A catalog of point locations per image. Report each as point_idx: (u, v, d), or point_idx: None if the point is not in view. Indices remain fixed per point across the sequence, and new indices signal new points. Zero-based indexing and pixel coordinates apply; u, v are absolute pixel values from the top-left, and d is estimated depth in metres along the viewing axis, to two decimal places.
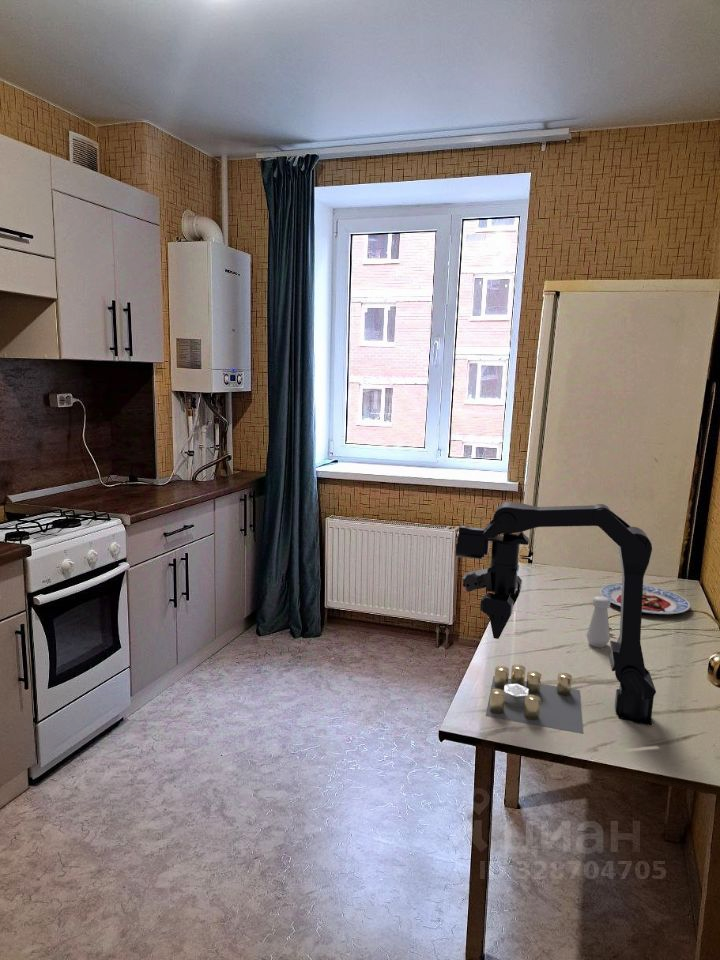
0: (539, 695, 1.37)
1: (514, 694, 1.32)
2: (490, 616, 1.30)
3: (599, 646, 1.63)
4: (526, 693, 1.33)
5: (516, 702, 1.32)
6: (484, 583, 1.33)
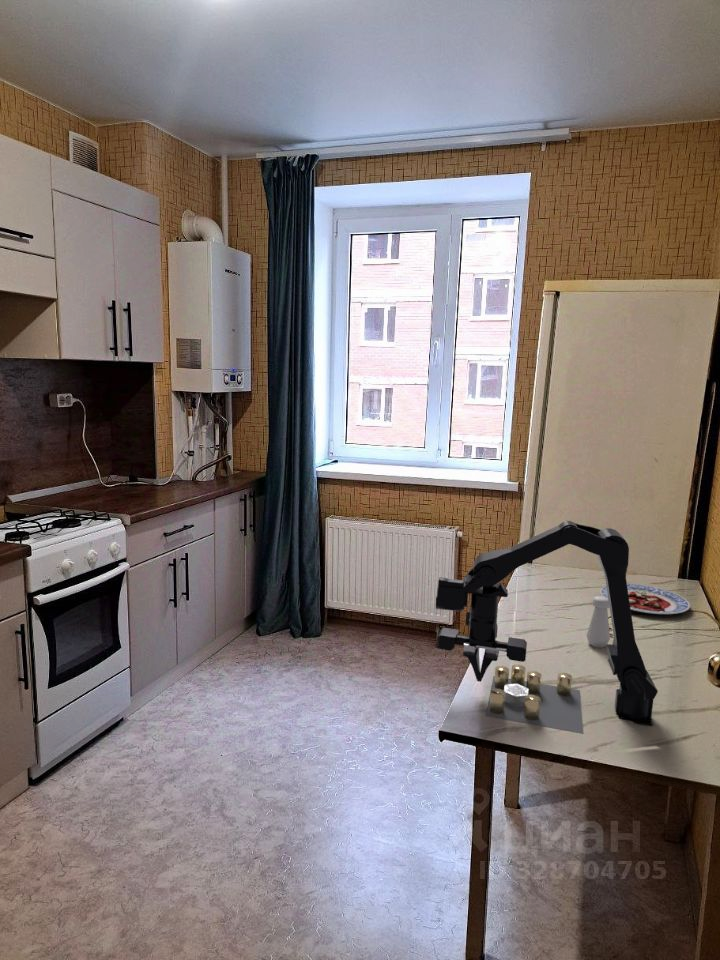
0: (539, 695, 1.37)
1: (514, 694, 1.32)
2: None
3: (599, 646, 1.63)
4: (526, 693, 1.33)
5: (516, 702, 1.32)
6: None
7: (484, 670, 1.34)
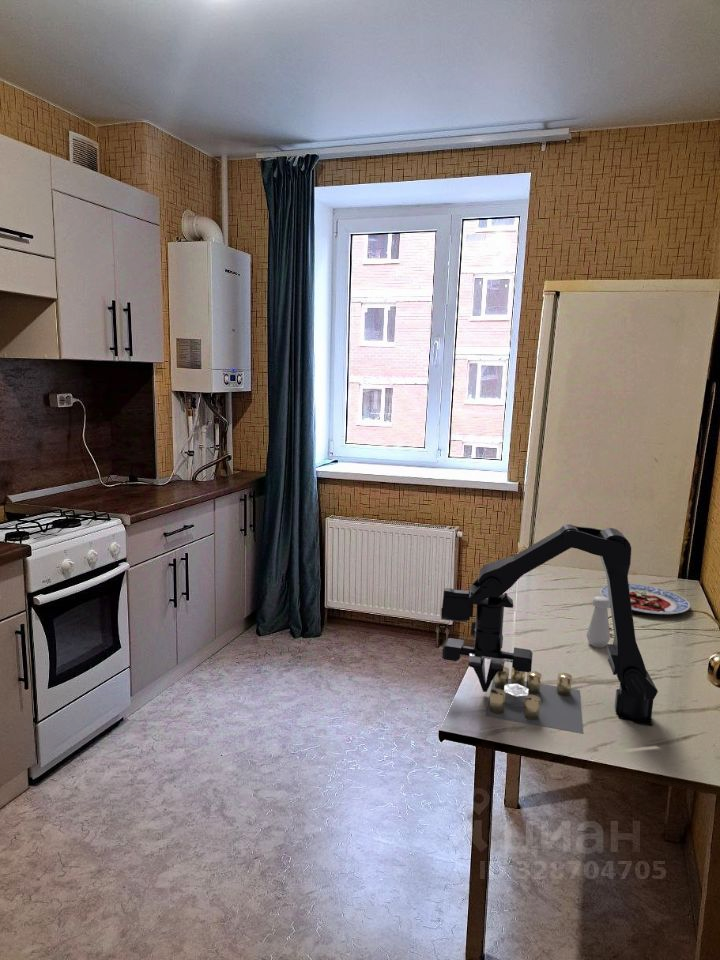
0: (539, 695, 1.37)
1: (514, 694, 1.32)
2: None
3: (599, 646, 1.63)
4: (526, 693, 1.33)
5: (516, 702, 1.32)
6: None
7: (490, 681, 1.34)
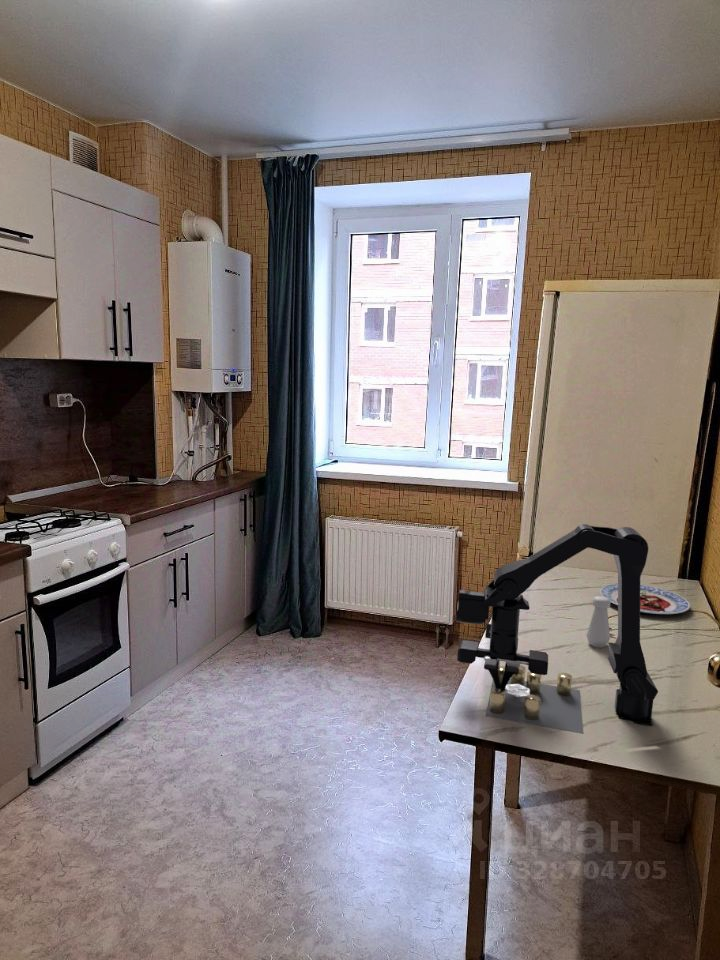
0: (539, 695, 1.37)
1: (515, 694, 1.32)
2: None
3: (599, 646, 1.63)
4: (527, 693, 1.33)
5: (517, 702, 1.32)
6: None
7: (505, 683, 1.33)
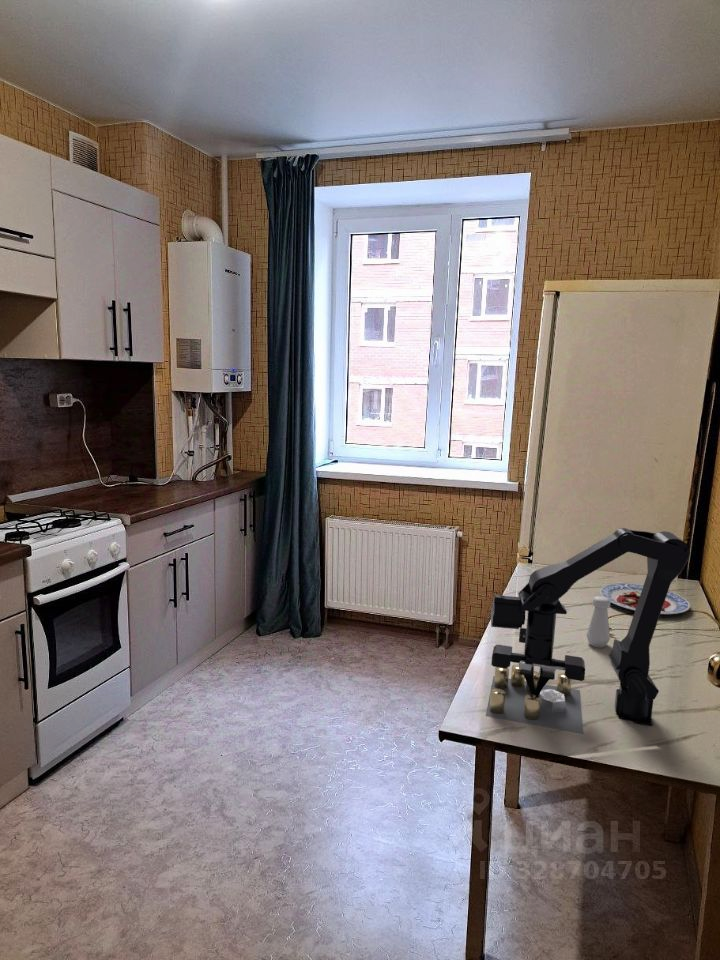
0: None
1: (551, 700, 1.30)
2: None
3: (599, 646, 1.63)
4: (563, 699, 1.31)
5: (553, 708, 1.30)
6: None
7: (540, 689, 1.31)
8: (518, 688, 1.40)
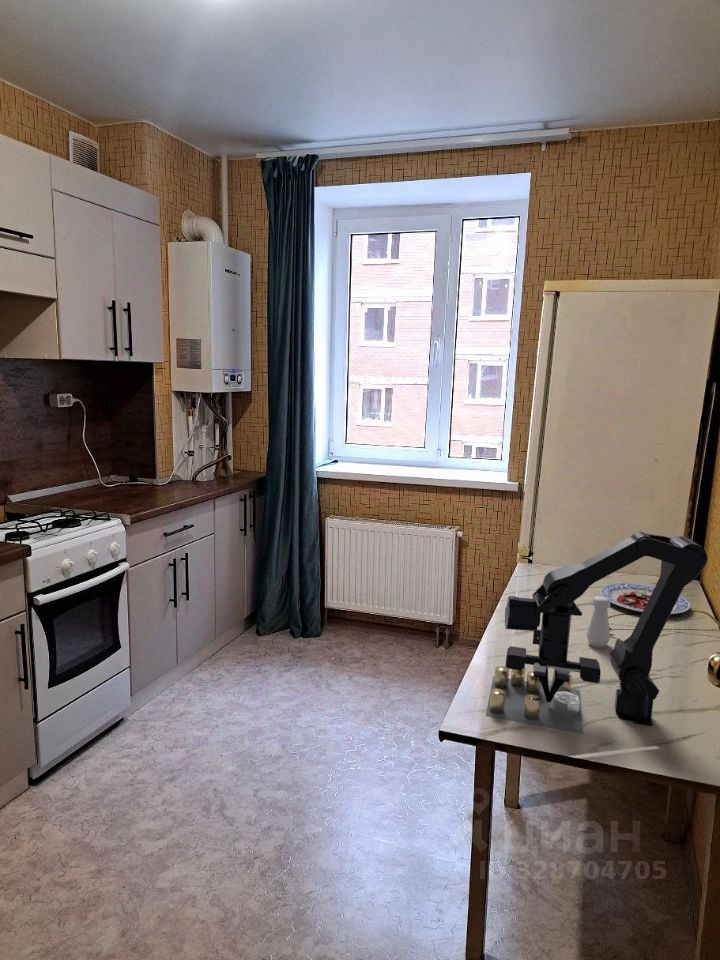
0: (539, 695, 1.37)
1: (565, 702, 1.30)
2: None
3: (599, 646, 1.63)
4: (577, 701, 1.30)
5: (568, 710, 1.29)
6: (539, 643, 1.35)
7: (555, 691, 1.30)
8: (518, 688, 1.40)
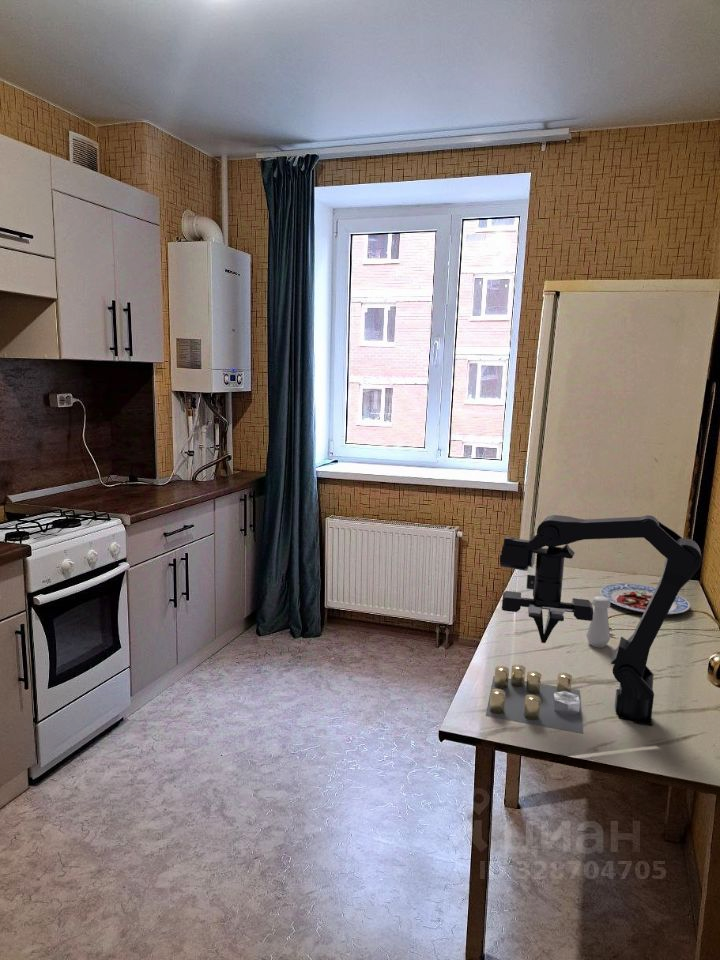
0: (539, 695, 1.37)
1: (566, 702, 1.30)
2: None
3: (599, 646, 1.63)
4: (577, 701, 1.30)
5: (568, 710, 1.29)
6: (534, 587, 1.39)
7: (550, 631, 1.35)
8: (518, 688, 1.40)
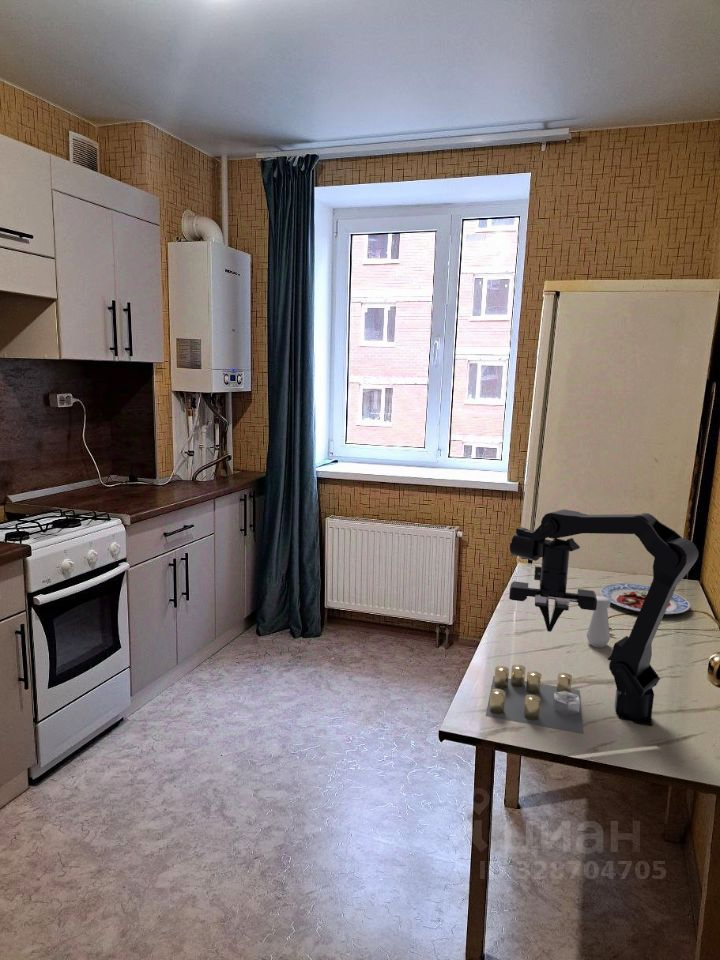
0: (539, 695, 1.37)
1: (566, 702, 1.30)
2: None
3: (599, 646, 1.63)
4: (577, 701, 1.30)
5: (568, 710, 1.29)
6: (540, 578, 1.45)
7: (555, 620, 1.41)
8: (518, 688, 1.40)
